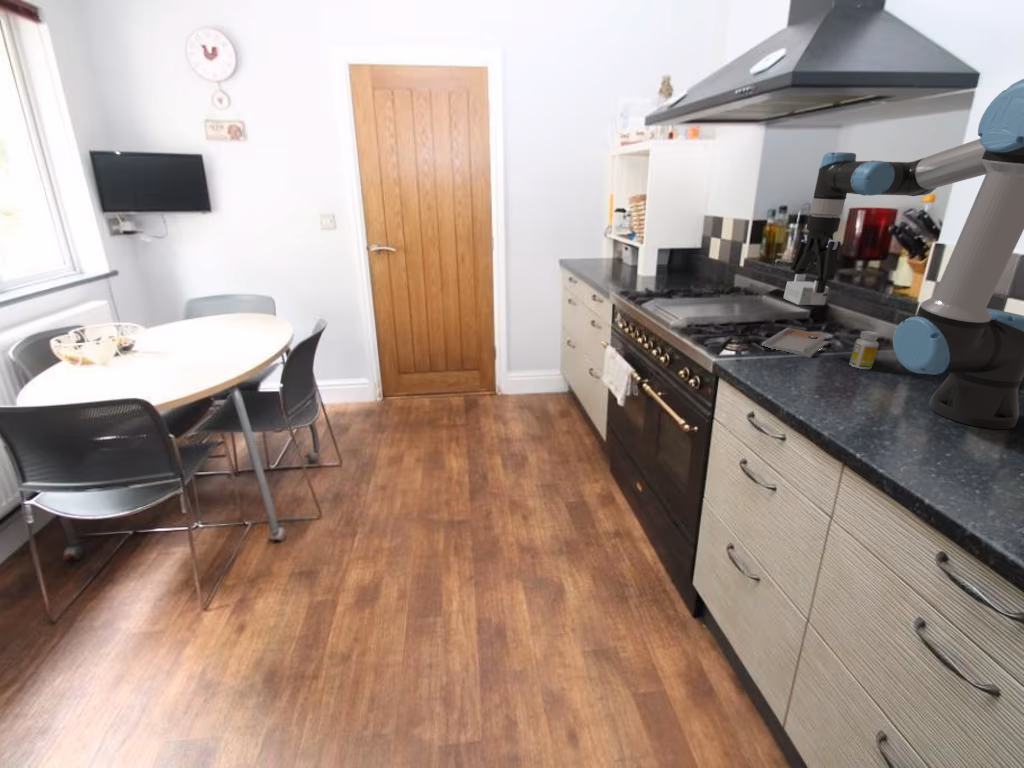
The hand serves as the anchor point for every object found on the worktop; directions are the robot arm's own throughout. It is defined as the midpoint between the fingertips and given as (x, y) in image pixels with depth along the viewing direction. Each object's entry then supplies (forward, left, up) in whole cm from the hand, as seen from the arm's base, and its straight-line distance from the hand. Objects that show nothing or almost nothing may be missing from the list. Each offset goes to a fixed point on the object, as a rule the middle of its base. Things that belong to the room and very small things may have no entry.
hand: (804, 300), depth 151 cm
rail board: (+10, +2, -16) cm, 19 cm away
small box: (0, 0, -1) cm, 1 cm away
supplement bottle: (+2, -17, -16) cm, 23 cm away
